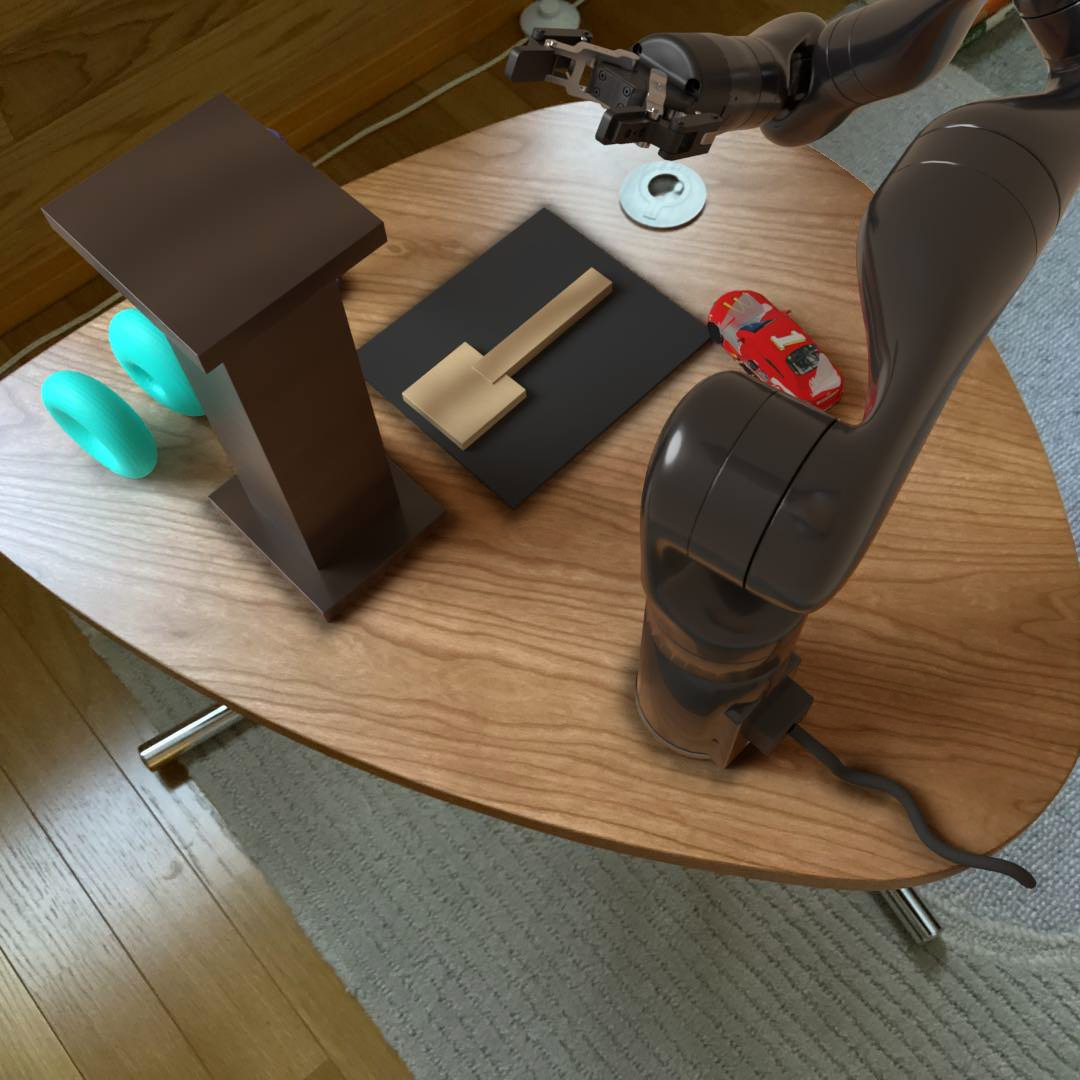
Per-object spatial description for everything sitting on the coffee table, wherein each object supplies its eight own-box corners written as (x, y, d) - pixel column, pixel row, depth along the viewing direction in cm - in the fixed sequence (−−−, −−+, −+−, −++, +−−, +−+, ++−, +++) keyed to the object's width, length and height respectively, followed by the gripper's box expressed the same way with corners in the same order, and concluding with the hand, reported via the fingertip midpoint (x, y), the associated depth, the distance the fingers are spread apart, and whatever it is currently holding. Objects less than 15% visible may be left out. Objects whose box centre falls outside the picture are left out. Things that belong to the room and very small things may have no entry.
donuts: (66, 443, 93) (11, 369, 84) (154, 359, 97) (110, 279, 88) (154, 505, 90) (107, 434, 81) (242, 416, 94) (206, 339, 85)
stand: (448, 520, 88) (383, 221, 60) (327, 623, 85) (197, 356, 56) (331, 413, 93) (220, 91, 65) (212, 506, 90) (39, 207, 61)
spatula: (632, 306, 97) (633, 297, 96) (463, 451, 91) (462, 442, 90) (572, 262, 99) (571, 252, 98) (403, 400, 93) (401, 391, 92)
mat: (715, 336, 96) (715, 332, 95) (513, 511, 89) (513, 508, 88) (544, 210, 103) (544, 206, 102) (345, 363, 96) (344, 359, 95)
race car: (692, 322, 96) (699, 289, 92) (744, 294, 97) (753, 261, 94) (795, 434, 91) (806, 405, 87) (848, 403, 92) (861, 373, 89)
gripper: (640, -6, 88) (498, -12, 76) (786, 84, 83) (659, 92, 71) (604, 89, 92) (465, 97, 81) (741, 180, 87) (614, 203, 76)
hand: (556, 95), depth 76 cm, fingers open, 8 cm apart
